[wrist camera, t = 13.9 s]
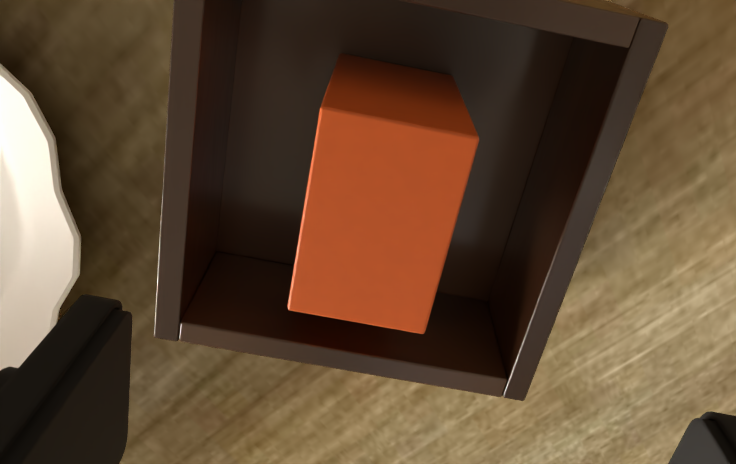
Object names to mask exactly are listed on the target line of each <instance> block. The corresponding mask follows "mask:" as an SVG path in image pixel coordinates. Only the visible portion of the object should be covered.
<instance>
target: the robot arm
mask: <svg viewBox="0 0 736 464" xmlns="http://www.w3.org/2000/svg"><path fill="white" fill-rule="evenodd" d="M131 340H132V314H131V312H128V311H123V310H122V304H121V302H120V301H119V300H113V299H108V298H103V297H97V296H92V295H87V294H84V295H82V296H80V297H79V298H78V299H77V301H76V302H75V303H74V304H73V305H72V306H71V308H70V309H69V310H68V311H67V312H66V313H65V314H64V316H63V317H62V318H61V319H60V320H59V321H58V323H57V324H56V325H55V326H54V327H53V328H52V330H51V331H50V332H49V333H48V334H47V335H46V337H45V338H44V339H43V340H42V341H41V342H40V343H39V345H38V346H37V347H36V348H35V349H34V350H33V352H32V353H31V354H30V355H29V356H28V357H27V359H26V360H25V361H24V362H23V363H22V364H21V366H20V367H19V368H15V367H6V368H4V369H2V370H1V371H0V464H119V463H120V461H121V459H122V456H123V453H124V450H125V447H126V443H127V435H128V411H129V388H130V364H131ZM668 464H736V416H732V415H727V414H722V413H716V412H706V413H705V414H703V415H702V416H701V417H700V418H695V419H694V420H692V421H691V423H690V424H689V426H688V428H687V429H686V431H685V433H684V435H683V437H682V439H681V441H680V443H679V444H678V446H677V448H676V450H675V452H674V454H673V456H672V458H671V459H670V461H669V463H668Z"/></svg>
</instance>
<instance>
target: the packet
mask: <svg viewBox="0 0 736 464" xmlns="http://www.w3.org/2000/svg"><path fill="white" fill-rule="evenodd" d="M478 143H479V136H478V134H477V132H476V129H475V127H474V125H473V122H472V120H471V117H470V115H469V113H468V110H467V108H466V106H465V103H464V101H463V98H462V96H461V94H460V91H459V89H458V87H457V84H456V82H455V80H454V77H453V76H451V75H446V74H441V73H436V72H431V71H426V70H421V69H417V68H412V67H407V66H402V65H397V64H392V63H387V62H382V61H377V60H372V59H367V58H362V57H358V56H353V55H348V54H343V53H341V54H339V56H338V59H337V62H336V65H335V68H334V70H333V73H332V76H331V79H330V82H329V85H328V87H327V90H326V93H325V96H324V99H323V102H322V104H321V107H320V112H319V118H318V124H317V130H316V136H315V142H314V148H313V154H312V160H311V166H310V172H309V178H308V184H307V190H306V196H305V202H304V209H303V215H302V221H301V227H300V233H299V239H298V245H297V251H296V257H295V263H294V269H293V275H292V281H291V287H290V293H289V299H288V305H287V307H288V310H290V311H296V312H301V313H307V314H313V315H318V316H324V317H329V318H335V319H341V320H346V321H352V322H357V323H363V324H369V325H374V326H380V327H386V328H391V329H397V330H402V331H408V332H414V333H419V334H424V332H425V331H426V327H427V324H428V320H429V317H430V313H431V310H432V306H433V302H434V299H435V295H436V292H437V288H438V285H439V281H440V278H441V274H442V271H443V267H444V263H445V260H446V256H447V253H448V249H449V246H450V242H451V239H452V235H453V231H454V228H455V224H456V221H457V217H458V214H459V210H460V207H461V203H462V200H463V196H464V192H465V189H466V185H467V182H468V178H469V175H470V171H471V168H472V164H473V160H474V157H475V153H476V150H477V146H478Z"/></svg>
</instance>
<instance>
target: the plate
mask: <svg viewBox="0 0 736 464" xmlns="http://www.w3.org/2000/svg"><path fill="white" fill-rule="evenodd" d="M80 258H81V235H80V232H79V230H78V227H77V225H76V222H75V220H74V218H73V215H72V213H71V210H70V208H69V205H68V203H67V200H66V198H65V196H64V193H63V191H62V186H61V178H60V169H59V161H58V153H57V145H56V138H55V136H54V134H53V132H52V130H51V128H50V126H49V125H48V123H47V121H46V119H45V117H44V115H43V113H42V112H41V110H40V108H39V106H38V104H37V102H36V100H35V98H34V97H33V95H32V93H31V92H30V91H29V90H28V89H27V88H26V87H25V86H24V85H23V84H22V83H21V82H20V81H19V80H17V79H16V78H15V77H14V76H13V75H12V74H11V73H10V72H9V71H8V70H7V69H6V68H5V67H4V66H3V65H2V64H1V63H0V371H1V370H2V369H4V368H6V367H15V368H19V367H20V366H21V364H22V363H23V362H24V361H25V360H26V359H27V357H28V356H29V355H30V354H31V353H32V352H33V350H34V349H35V348H36V347H37V346H38V345H39V343H40V342H41V341H42V340H43V339H44V338H45V337H46V335H47V334H48V333H49V332H50V331H51V330H52V328H53V327H54V326H55V325H56V324H57V321H58V315H59V310H60V307H61V305H62V304H63V302H64V300H65V299H66V297H67V295H68V294H69V292H70V290H71V288H72V287H73V285H74V283H75V282H76V280H77V278H78V277H79V275H80Z"/></svg>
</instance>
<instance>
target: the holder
mask: <svg viewBox="0 0 736 464" xmlns="http://www.w3.org/2000/svg"><path fill="white" fill-rule="evenodd" d="M667 29H668V24H667V23H666V22H663V21H661V20H658V19H655V18H653V17H650V16H647V15H644V14H642V13H639V12H636V11H634V10H631V9H628V8H625V7H623V6H620V5H617V4H615V3H612V2H609V1H607V0H174V6H173V23H172V39H171V56H170V73H169V90H168V107H167V124H166V140H165V157H164V174H163V191H162V208H161V225H160V241H159V258H158V275H157V292H156V309H155V326H154V337H155V338H160V339H166V340H171V341H178V340H179V341H181V342H186V343H192V344H197V345H203V346H209V347H215V348H220V349H226V350H232V351H238V352H243V353H249V354H255V355H261V356H266V357H272V358H278V359H284V360H289V361H295V362H301V363H307V364H312V365H318V366H324V367H330V368H336V369H341V370H347V371H353V372H359V373H364V374H370V375H376V376H382V377H387V378H393V379H399V380H405V381H410V382H416V383H422V384H428V385H433V386H439V387H445V388H451V389H456V390H462V391H468V392H474V393H479V394H485V395H491V396H497V397H501V396H503V397H504V398H509V399H514V400H520V401H524V400H525V398H526V395H527V392H528V390H529V387H530V385H531V382H532V379H533V377H534V374H535V372H536V369H537V366H538V364H539V361H540V359H541V356H542V353H543V351H544V348H545V346H546V343H547V340H548V338H549V335H550V333H551V330H552V327H553V325H554V322H555V320H556V317H557V314H558V312H559V309H560V307H561V304H562V302H563V299H564V296H565V294H566V291H567V289H568V286H569V283H570V281H571V278H572V276H573V273H574V270H575V268H576V265H577V263H578V260H579V257H580V255H581V252H582V250H583V247H584V244H585V242H586V239H587V237H588V234H589V231H590V229H591V226H592V224H593V221H594V218H595V216H596V213H597V211H598V208H599V205H600V203H601V200H602V198H603V195H604V192H605V190H606V187H607V185H608V182H609V179H610V177H611V174H612V172H613V169H614V167H615V164H616V161H617V159H618V156H619V154H620V151H621V148H622V146H623V143H624V141H625V138H626V135H627V133H628V130H629V128H630V125H631V122H632V120H633V117H634V115H635V112H636V109H637V107H638V104H639V102H640V99H641V96H642V94H643V91H644V89H645V86H646V83H647V81H648V78H649V76H650V73H651V70H652V68H653V65H654V63H655V60H656V57H657V55H658V52H659V50H660V47H661V44H662V42H663V39H664V37H665V34H666V31H667ZM341 53H343V54H348V55H353V56H358V57H362V58H367V59H372V60H377V61H382V62H387V63H392V64H397V65H402V66H407V67H412V68H417V69H421V70H426V71H431V72H436V73H441V74H446V75H451V76H453V77H454V80H455V82H456V84H457V87H458V89H459V91H460V94H461V96H462V98H463V101H464V103H465V106H466V108H467V110H468V113H469V115H470V117H471V120H472V122H473V125H474V127H475V129H476V132H477V134H478V136H479V143H478V146H477V150H476V153H475V157H474V160H473V164H472V168H471V171H470V175H469V178H468V182H467V185H466V189H465V192H464V196H463V200H462V203H461V207H460V210H459V214H458V217H457V221H456V224H455V228H454V231H453V235H452V239H451V242H450V246H449V249H448V253H447V256H446V260H445V263H444V267H443V271H442V274H441V278H440V281H439V285H438V288H437V292H436V295H435V299H434V302H433V306H432V310H431V313H430V317H429V320H428V324H427V327H426V331H425V332H424V334H419V333H414V332H408V331H402V330H397V329H391V328H386V327H380V326H374V325H369V324H363V323H357V322H352V321H346V320H341V319H335V318H329V317H324V316H318V315H313V314H307V313H301V312H296V311H290V310H288V307H287V305H288V299H289V293H290V287H291V281H292V275H293V269H294V263H295V257H296V251H297V245H298V239H299V233H300V227H301V221H302V215H303V209H304V202H305V196H306V190H307V184H308V178H309V172H310V166H311V160H312V154H313V148H314V142H315V136H316V130H317V124H318V118H319V112H320V107H321V104H322V102H323V99H324V96H325V93H326V90H327V87H328V85H329V82H330V79H331V76H332V73H333V70H334V68H335V65H336V62H337V59H338V56H339V54H341Z"/></svg>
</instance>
